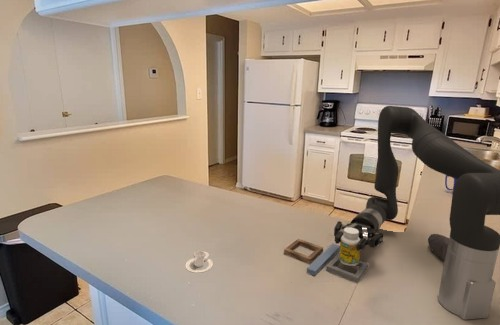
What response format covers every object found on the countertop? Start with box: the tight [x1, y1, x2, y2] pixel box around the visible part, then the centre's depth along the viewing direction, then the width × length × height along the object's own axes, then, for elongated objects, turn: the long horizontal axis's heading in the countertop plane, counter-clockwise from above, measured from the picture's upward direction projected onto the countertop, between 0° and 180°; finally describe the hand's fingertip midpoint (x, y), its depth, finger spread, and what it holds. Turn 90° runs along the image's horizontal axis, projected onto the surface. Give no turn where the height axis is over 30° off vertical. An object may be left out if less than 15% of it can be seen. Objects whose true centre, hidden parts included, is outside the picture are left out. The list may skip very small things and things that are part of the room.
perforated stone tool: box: [427, 233, 449, 262], centre depth 93 cm, size 15×5×7 cm, turn 3°
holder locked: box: [283, 238, 324, 265], centre depth 95 cm, size 9×9×2 cm
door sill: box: [306, 243, 340, 277], centre depth 91 cm, size 18×2×2 cm, turn 142°
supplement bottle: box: [339, 227, 361, 267], centre depth 85 cm, size 5×5×10 cm
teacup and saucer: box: [185, 250, 214, 274], centre depth 88 cm, size 9×8×4 cm
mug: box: [444, 175, 457, 191], centre depth 151 cm, size 8×12×10 cm
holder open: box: [325, 252, 369, 284], centre depth 87 cm, size 9×9×2 cm
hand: (347, 243), depth 82 cm, fingers closed on supplement bottle, 5 cm apart
